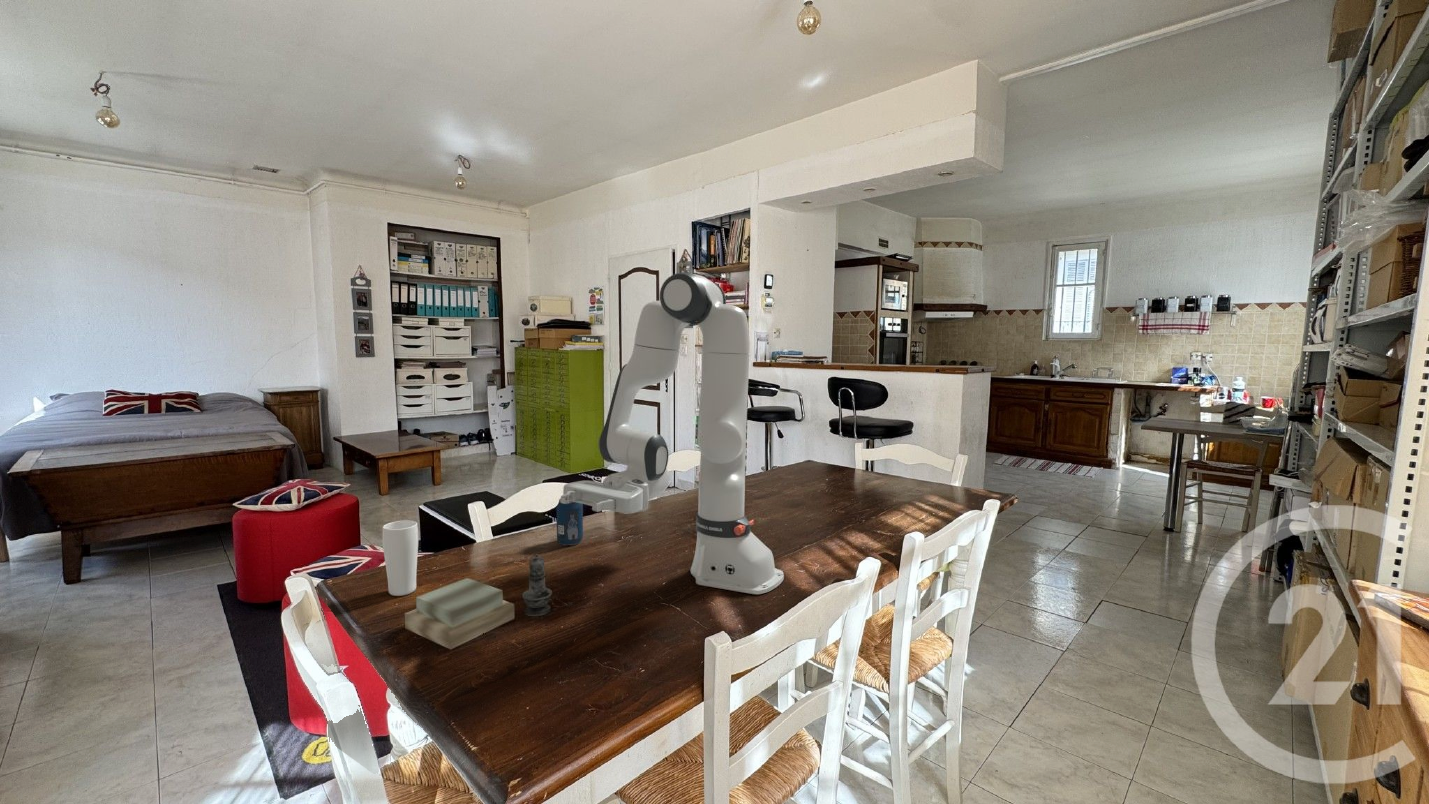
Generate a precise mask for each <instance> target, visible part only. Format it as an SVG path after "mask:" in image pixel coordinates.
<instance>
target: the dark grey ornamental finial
mask: <svg viewBox="0 0 1429 804" xmlns="http://www.w3.org/2000/svg"><path fill="white" fill-rule="evenodd" d="M546 577H547V573H546V572H545V560H544V559H543V558H542V557H539V554H538V553H536V554H535V555H534V557H533V558H531V559H530V561H529V574H528V575H527V578H528V579H529V580H528V581H529V583H528V584H529V587H528V589H527V590H525V591H524V592H523V593H522V595H521V596H522V598H523V601H524V603H525V605H526V608H524V610H523V613H524V614H525V615H527V616H529V617H540V616H541V617H542V616H543V615H544V616H545V615H546V614H549V612H551V610H552V607H551V605H549V602H550V599H551V596H552V594H553V591H552V589H550V588H548V587H546V582H545V581H546Z"/></svg>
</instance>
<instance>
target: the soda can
mask: <svg viewBox="0 0 1429 804" xmlns="http://www.w3.org/2000/svg"><path fill="white" fill-rule="evenodd" d="M583 509H584V504H581V503H577V502H573V501H571V503H568V504H564V503H561V498H559V499H558V503H557V504H556V540H557V541H558V543H559V544H560V545H561V544H562V545H563V546H566V545H570V546H575V545H579V544H580V543H581V542H582V540H583V538H584V525H583V524H584V516H583V514H584V510H583ZM578 543H579V544H578Z"/></svg>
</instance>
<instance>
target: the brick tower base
mask: <svg viewBox="0 0 1429 804" xmlns="http://www.w3.org/2000/svg"><path fill="white" fill-rule="evenodd" d="M503 593H504V591H503V589H500V588H498V587H494V586H491V585H489V584H486V583H483V582H481V581H477V580H474V579H473V578H472V579H471V578H469V577H466V578H463V579H461V580H458V581H455V582H453V583H450V584H447V585H445V586H441V587H439V588H438V589H437V588H436V589H434V590H432V591H428V592H426V593H424V594H421V595H418V596H416V598H415V599H416V602H415V603H416V608H415V609H412V610H410V611H408V612H404V625H405V626H404V629H405V630H408V631H410V632H412V633H414V634H417V635H418V636H421V637H423V638H425V639H427V640H429V641H430V642H434V643H436V644H438V645H440V646H442V647H445V648H447V649H448V650H453V649H455V648H456V647H458V646H461V645H464V644H465V643H467V642H469V641H471V640H473V639H475V638H478V637H479V636H481V635H484V634H485V633H488V632H490V631H491V630H494V629H496V628H498V627H500V626H502V625H504V624H506V623H508V622H510V621H513V620H514V619H515V604H514V603H512V602H511V601H510V602H509V601H507V600H504V595H503ZM483 633H484V634H483Z"/></svg>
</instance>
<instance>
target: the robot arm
mask: <svg viewBox="0 0 1429 804" xmlns="http://www.w3.org/2000/svg"><path fill="white" fill-rule="evenodd" d="M748 323H749V321H748V317H747V314H746V312H745V311H744V310H743V309H742V308H740V307H739V306H736V305H734V304H733V305H732V304H727V298H726V294H725V292H724V290H723V288H722V287H721V286H720V285H719V284H718V283H717V282H715V281H713V280H710V279H708V278H707V277H705V276H703V275H699V274H695V273H690V272H685V271H684V272H677V273H674V274H671V275H670V276H669V277H667V278H666V279H665V280H664V282H663V283H662V285H661V287H660V290H659V300H654V301H649V302H648V303H646V304H645V305H644V306H643V307H642V309H641V312H640V315H639V319H638V322H637V326H636V330H635V331H636V332H635V337H634V343H633V350H632V352H631V356H630V358H629V360H628V361H627V363H626V364H624V365H623V366H622V367H621V369H620V371H619V373H618V375H617V378H616V381H615V382H616V383H615V386H614V388H613V393H612V397H611V400H610V405H609V409H608V413H607V417H606V420H605V423H604V426H603V428H602V430H601V433H600V435H599V439H598V442H597V443H598V450H599V453H600V455H601V457H602V459H603V460H604V461H606V462H607V463H610V464H611V463H612V464H616V465H617V464H618V465H623V466H626V467H627V468H626V469H624V470H622V471H619V472H618V471H617V472H614V473H611V474H608V475H607V476H606V477H605V478H604V479H603V481H602V482H597V481H593V480H578V481H573V482H569V483H565V484H564V485H563V491H562V494H563V495H561V496H560V499H561V503H564V504H568V503H571V501H573V502H577V503H581V504H583V505H585V506H591V507H592V508H591V510H592V511H593V512H597V513H598V512H601V511H611V512H616V513H620V514H626V515H630V514H632V515H633V514H636V513H638V512H645V511H648V509H649V501H650V500H653V499H656V498H657V497H659V496H661V495H662V494H663V493H664V492H665V491H666V490H667V489H668V486H669V485H670V471H669V470H668V468H667V467H668V463H669V449H668V444H667V442H666V440H665V438H664V437H663V436H662V435H660V434H657V433H654V432H650V431H647V430H642V429H637V428H634V427H631V426H630V422H629V421H630V419H631V414H632V410H633V405H634V403H635V402H634V401H635V398H636V395H637V393H638V392H639V391H640V390H641V389H643V388H646V387H648V386H652V385H657V384H659V383H662V382H665V381H666V380H668V379H669V378H670V377H671V376H672V375H673V374H674V373H675V372H676V369H677V367H678V362H679V354H680V347H681V339H682V334H683V333H684V332H683V331H684V329H685V328H687V326H689V327H694V326H698V327H699V328H700V331H701V334H702V336H701V337H702V347H701V349H702V350H701V351H702V352H701V373H700V374H701V380H700V383H701V384H700V395H699V405H698V419H697V421H698V422H697V436H696V439H697V446H698V449H699V451H700V459H699V460H700V461H699V474H698V475H699V478H698V506H697V507H698V509H697V511H698V512H697V513H696V520H695V524H696V525H695V529H696V530H695V532H696V535H697V536H696V546H695V552H694V557H693V560H692V564H691V567H690V574H691V575H692V576H693V577H694V578H695V584H696V585H698V586H704V587H710V588H715V589H716V588H717V589H723V590H728V591H733V592H740V593H746V594H750V595H751V594H752V595H762V594H765V593H768V592H771V591H772V590H774V589H776V588H777V587H778V586H780V584H782V582H783V581H784V578H785V575H784V571H783V570H782V569H779V568H776V566H775V560H774V555H773V552H772V550H771V549H770V548H769V547H767V546H766V545H765V544H764V543H763V542H762V541H761V540H760V539H759V538H758V536H756V535H755V534H754V533H753V532H752V531H751V526H753V525H754V524H755V523H754V521H755V519H752V520H749V519H748V517H747V515H746V514H745V497H746V496H745V494H746V493H745V492H746V489H745V488H746V460H747V459H746V456H747V454H746V452H747V451H746V449H747V447H746V446H747V423H748V421H747V419H748V396H749V395H748V394H749V393H748V392H749V376H750V375H749V373H750V370H749V369H750V330H749V324H748Z"/></svg>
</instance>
